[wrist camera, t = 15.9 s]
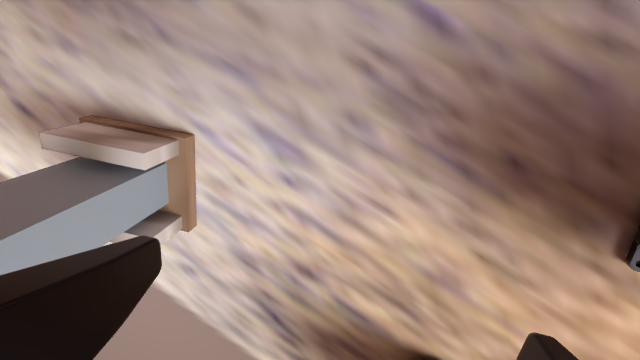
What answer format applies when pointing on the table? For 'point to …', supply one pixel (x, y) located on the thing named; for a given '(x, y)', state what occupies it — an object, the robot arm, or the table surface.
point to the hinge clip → (138, 165)
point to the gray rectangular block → (73, 209)
